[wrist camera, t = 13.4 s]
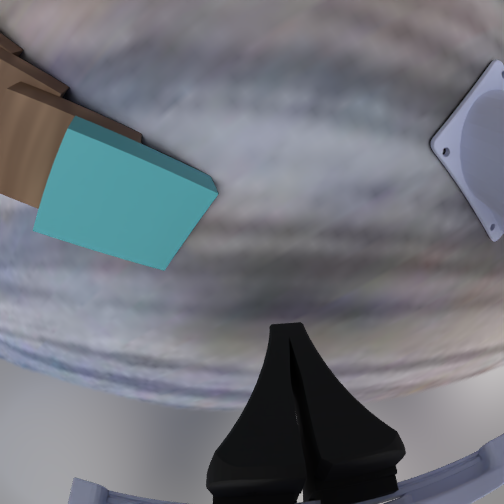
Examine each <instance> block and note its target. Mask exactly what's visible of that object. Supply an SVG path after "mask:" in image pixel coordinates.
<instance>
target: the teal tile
mask: <svg viewBox="0 0 504 504" xmlns="http://www.w3.org/2000/svg"><path fill="white" fill-rule="evenodd" d="M218 194H219V193H218V191H217V189H216V187H215V185H214V183H213V181H212V178H211V176H209V175H207V174H205V173H203V172H201V171H199V170H197V169H194V168H192V167H190V166H188V165H186V164H184V163H182V162H180V161H178V160H175V159H173V158H171V157H169V156H167V155H165V154H163V153H160V152H158V151H156V150H154V149H152V148H149V147H147V146H145V145H143V144H141V143H138V142H136V141H134V140H132V139H129V138H127V137H125V136H123V135H120V134H118V133H116V132H113V131H111V130H109V129H106V128H104V127H102V126H99V125H97V124H95V123H92V122H90V121H87V120H85V119H83V118H80V117H78V116H75V117H74V118H73V120H72V122H71V123H70V125H69V127H68V129H67V131H66V133H65V135H64V138H63V140H62V143H61V145H60V148H59V150H58V153H57V155H56V158H55V161H54V163H53V166H52V169H51V172H50V175H49V177H48V180H47V183H46V186H45V190H44V193H43V196H42V199H41V203H40V206H39V210H38V213H37V217H36V221H35V224H34V228H33V231H35V232H38V233H41V234H44V235H47V236H50V237H54V238H57V239H60V240H63V241H66V242H69V243H72V244H76V245H79V246H82V247H85V248H88V249H92V250H95V251H98V252H102V253H105V254H108V255H112V256H115V257H118V258H122V259H125V260H129V261H132V262H135V263H139V264H142V265H146V266H150V267H153V268H157V269H160V270H165V269H166V267H167V266H168V265H169V263H170V262H171V260H172V259H173V257H174V256H175V254H176V253H177V251H178V250H179V248H180V247H181V246H182V244H183V243H184V241H185V240H186V238H187V237H188V236H189V234H190V233H191V231H192V230H193V228H194V227H195V226H196V224H197V223H198V221H199V220H200V219H201V217H202V216H203V215H204V213H205V212H206V210H207V209H208V208H209V206H210V205H211V204H212V202H213V201H214V199H215V198H216V197H217V195H218Z"/></svg>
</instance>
